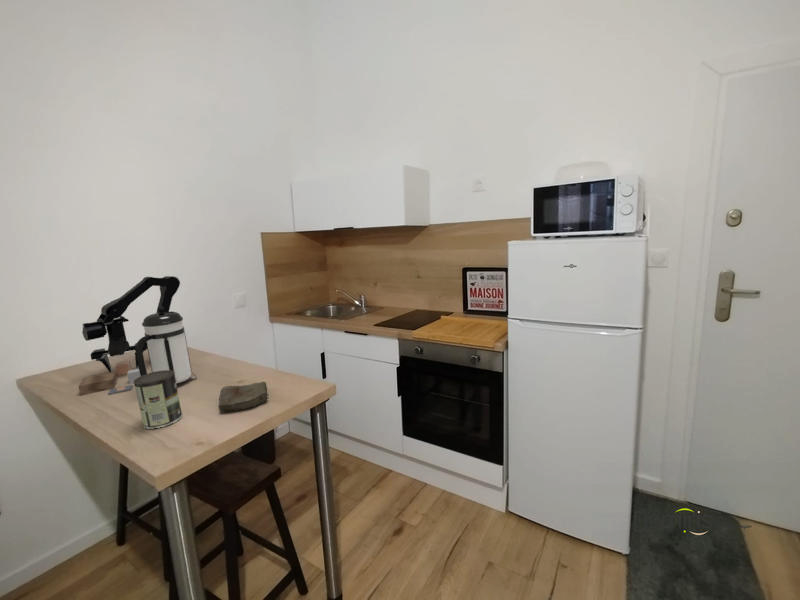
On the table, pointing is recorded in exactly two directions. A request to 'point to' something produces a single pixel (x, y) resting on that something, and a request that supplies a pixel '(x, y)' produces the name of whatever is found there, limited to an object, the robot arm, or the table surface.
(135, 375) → the grey cube
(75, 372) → the table surface
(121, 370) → the terracotta cube
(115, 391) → the card
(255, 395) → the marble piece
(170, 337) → the coffee press
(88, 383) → the walnut block
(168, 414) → the coffee can
